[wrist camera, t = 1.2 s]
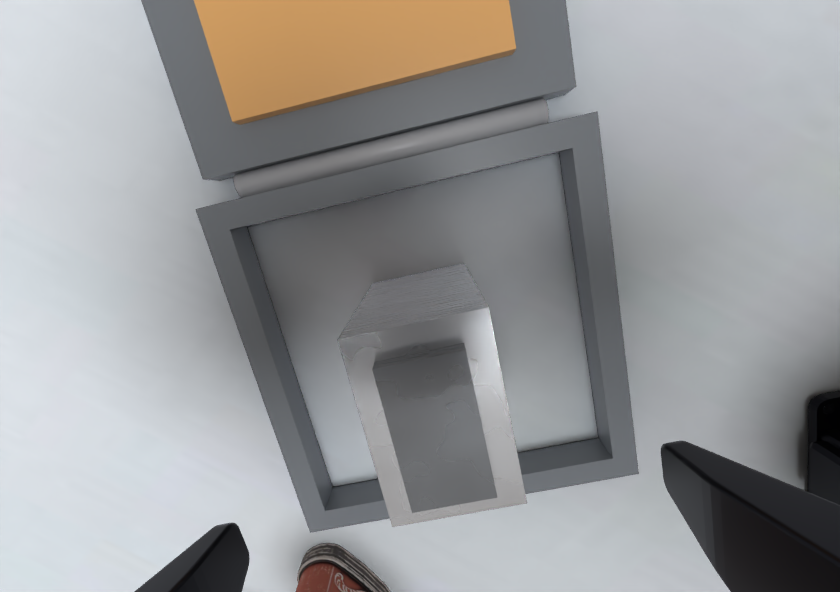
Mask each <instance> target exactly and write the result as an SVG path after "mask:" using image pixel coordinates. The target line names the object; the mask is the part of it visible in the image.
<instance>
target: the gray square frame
mask: <svg viewBox="0 0 840 592" xmlns="http://www.w3.org/2000/svg"><path fill="white" fill-rule="evenodd" d="M558 152H559V155H560V162H561V169H562V176H563V184H564V191H565V198H566V205H567V213H568V220H569V227H570V234H571V242H572V249H573V256H574V263H575V270H576V278H577V285H578V292H579V299H580V307H581V314H582V321H583V328H584V336H585V343H586V350H587V357H588V365H589V372H590V379H591V386H592V394H593V401H594V408H595V415H596V422H597V430H598V437H599V438H596V439H591V440H586V441H580V442H575V443H569V444H564V445H559V446H553V447H548V448H543V449H537V450H532V451H527V452H521V453H517V454H518V459H519V464H520V470H521V475H522V480H523V485H524V490H525V494H528V493H534V492H539V491H545V490H551V489H556V488H562V487H567V486H573V485H579V484H584V483H590V482H595V481H601V480H607V479H612V478H618V477H623V476H629V475H634V474H639V472H638V463H637V454H636V445H635V437H634V428H633V419H632V410H631V401H630V393H629V384H628V375H627V366H626V358H625V349H624V340H623V331H622V322H621V314H620V305H619V296H618V287H617V279H616V270H615V261H614V252H613V243H612V235H611V226H610V217H609V208H608V200H607V191H606V182H605V173H604V164H603V156H602V147H601V138H600V129H599V121H598V112H593V113H589V114H584V115H580V116H576V117H572V118H568V119H564V120H560V121H556V122H552V123H548V124H543V125H539V126H535V127H531V128H527V129H523V130H519V131H515V132H511V133H506V134H502V135H498V136H494V137H490V138H486V139H482V140H478V141H474V142H470V143H465V144H461V145H457V146H453V147H449V148H445V149H441V150H437V151H433V152H428V153H424V154H420V155H416V156H412V157H408V158H404V159H400V160H396V161H391V162H387V163H383V164H379V165H375V166H371V167H367V168H363V169H359V170H355V171H350V172H346V173H342V174H338V175H334V176H330V177H326V178H322V179H318V180H313V181H309V182H305V183H301V184H297V185H293V186H289V187H285V188H281V189H277V190H272V191H268V192H264V193H260V194H256V195H252V196H248V197H244V198H240V199H235V200H231V201H227V202H223V203H219V204H215V205H211V206H207V207H203V208H199V209H196V212H197V215H198V218H199V221H200V223H201V226H202V229H203V232H204V235H205V237H206V240H207V243H208V246H209V249H210V252H211V254H212V257H213V260H214V263H215V266H216V268H217V271H218V274H219V277H220V280H221V283H222V285H223V288H224V291H225V294H226V297H227V299H228V302H229V305H230V308H231V311H232V314H233V316H234V319H235V322H236V325H237V328H238V330H239V333H240V336H241V339H242V342H243V345H244V347H245V350H246V353H247V356H248V359H249V361H250V364H251V367H252V370H253V373H254V376H255V378H256V381H257V384H258V387H259V390H260V392H261V395H262V398H263V401H264V404H265V407H266V409H267V412H268V415H269V418H270V421H271V423H272V426H273V429H274V432H275V435H276V438H277V440H278V443H279V446H280V449H281V452H282V454H283V457H284V460H285V463H286V466H287V469H288V471H289V474H290V477H291V480H292V483H293V485H294V488H295V491H296V494H297V497H298V500H299V502H300V505H301V508H302V511H303V514H304V516H305V519H306V522H307V525H308V528H309V531H310V533H311V532H316V531H322V530H327V529H333V528H338V527H344V526H350V525H355V524H361V523H366V522H372V521H378V520H383V519H389V518H390V517H389V514H388V510H387V507H386V504H385V500H384V497H383V493H382V490H381V487H380V483H379V480H378V479H376V480H371V481H366V482H360V483H355V484H350V485H344V486H339V487H334V488H332V485H331V482H330V479H329V476H328V473H327V470H326V467H325V463H324V460H323V457H322V454H321V451H320V448H319V445H318V442H317V439H316V436H315V433H314V430H313V427H312V424H311V421H310V418H309V415H308V412H307V409H306V406H305V403H304V400H303V396H302V393H301V390H300V387H299V384H298V381H297V378H296V375H295V372H294V369H293V366H292V363H291V360H290V357H289V354H288V351H287V348H286V345H285V342H284V339H283V336H282V332H281V329H280V326H279V323H278V320H277V317H276V314H275V311H274V308H273V305H272V302H271V299H270V296H269V293H268V290H267V287H266V284H265V281H264V278H263V275H262V272H261V269H260V265H259V262H258V259H257V256H256V253H255V250H254V247H253V244H252V241H251V238H250V235H249V232H248V229H247V226H251V225H255V224H260V223H264V222H268V221H272V220H276V219H281V218H285V217H289V216H293V215H297V214H302V213H306V212H310V211H314V210H318V209H323V208H327V207H331V206H335V205H339V204H344V203H348V202H352V201H356V200H360V199H365V198H369V197H373V196H377V195H381V194H386V193H390V192H394V191H398V190H402V189H407V188H411V187H415V186H419V185H423V184H428V183H432V182H436V181H440V180H444V179H449V178H453V177H457V176H461V175H465V174H470V173H474V172H478V171H482V170H486V169H491V168H495V167H499V166H503V165H507V164H512V163H516V162H520V161H524V160H528V159H533V158H537V157H541V156H545V155H549V154H554V153H558Z"/></svg>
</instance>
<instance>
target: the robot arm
mask: <svg viewBox="0 0 840 592" xmlns="http://www.w3.org/2000/svg"><path fill="white" fill-rule="evenodd" d="M661 458H662V468H663V478H664V483H665V486H666V488H667V490H668V492H669V494H670V496H671V497H672V499H673V501H674V502H675V504H676V506H677V507H678V509H679V511H680V512H681V514H682V516H683V517H684V519H685V521H686V522H687V524H688V526H689V527H690V529H691V531H692V532H693V534H694V536H695V537H696V539H697V541H698V542H699V544H700V546H701V547H702V549H703V551H704V552H705V554H706V556H707V557H708V559H709V560H710V562H711V564H712V565H713V567H714V568H715V570H716V571H717V573H718V574H719V576H720V577H721V579H722V580H723V581H724V583H725V584H726V586H727V587H728V588H729V590H730V591H731V592H840V391H837V392H832V393H827V394H821V395H818V396H815V397H814V398H813V399H812V400H811V401H810V403H809V407H808V492H806V491H804V490H802V489H799V488H797V487H794V486H792V485H790V484H787V483H785V482H782V481H780V480H778V479H775V478H773V477H770V476H768V475H766V474H763V473H761V472H758V471H756V470H753V469H751V468H749V467H746V466H744V465H741V464H739V463H737V462H734V461H732V460H729V459H727V458H725V457H722V456H720V455H717V454H715V453H713V452H710V451H708V450H705V449H703V448H700V447H698V446H696V445H693V444H691V443H688V442H686V441H676V442H671V443H665V444H663V445H662V447H661ZM248 566H249V552H248V549H247V546H246V544H245V541H244V539H243V536H242V534H241V532H240V529H239V527H238V525H237V524H235V523H227V524H222V525H217V526H215V527H213V528H212V529H211V530H210V531H208V532H207V533H206V534H205V535H203V536H202V537H201V538H200V539H199V540H197V541H196V542H195V543H194V544H192V545H191V546H190V547H189V548H188V549H186V550H185V551H184V552H183V553H181V554H180V555H179V556H178V557H176V558H175V559H174V560H173V561H172V562H170V563H169V564H168V565H167V566H165V567H164V568H163V569H162V570H161V571H159V572H158V573H157V574H156V575H154V576H153V577H152V578H151V579H149V580H148V581H147V582H146V583H145V584H143V585H142V586H141V587H140V588H138V589H137V590H136V591H135V592H242V589H243V585H244V581H245V577H246V574H247V570H248Z"/></svg>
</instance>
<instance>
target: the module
mask: <svg viewBox="0 0 840 592" xmlns="http://www.w3.org/2000/svg"><path fill="white" fill-rule="evenodd" d="M337 340H338V344H339V347H340V350H341V354H342V357H343V361H344V364H345V367H346V371H347V374H348V378H349V381H350V384H351V388H352V391H353V395H354V398H355V401H356V405H357V408H358V412H359V415H360V418H361V422H362V425H363V429H364V432H365V435H366V439H367V442H368V446H369V449H370V453H371V456H372V459H373V463H374V466H375V470H376V473H377V476H378V480H379V483H380V487H381V490H382V493H383V497H384V500H385V504H386V507H387V510H388V514H389V517H390V521H391V524H392V527H396V526H401V525H407V524H412V523H418V522H424V521H429V520H435V519H441V518H446V517H452V516H457V515H463V514H469V513H474V512H480V511H486V510H491V509H497V508H502V507H508V506H514V505H519V504H525V503H527V500H526V495H525V490H524V485H523V480H522V475H521V470H520V464H519V459H518V454H517V449H516V444H515V439H514V434H513V429H512V423H511V418H510V413H509V408H508V403H507V398H506V393H505V388H504V382H503V377H502V372H501V367H500V362H499V357H498V352H497V347H496V341H495V336H494V331H493V326H492V321H491V316H490V311H489V307H488V305H487V303H486V301H485V300H484V298H483V296H482V294H481V292H480V291H479V289H478V287H477V285H476V283H475V282H474V280H473V278H472V276H471V274H470V273H469V271H468V269H467V267H466V265H465V264H464V263H462V264H457V265H453V266H449V267H444V268H440V269H435V270H431V271H426V272H422V273H417V274H413V275H408V276H404V277H399V278H395V279H390V280H386V281H381V282H377V283H373V284H372V285H371V287H370V288H369V290H368V292H367V293H366V295H365V296H364V298H363V299H362V301H361V303H360V304H359V306H358V307H357V309H356V311H355V312H354V314H353V315H352V317H351V319H350V320H349V322H348V323H347V325H346V327H345V328H344V330H343V331H342V333H341V335H340V336H339V338H338V339H337Z"/></svg>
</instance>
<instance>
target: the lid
mask: <svg viewBox="0 0 840 592" xmlns="http://www.w3.org/2000/svg"><path fill="white" fill-rule="evenodd" d="M141 1H142V4H143V7H144V10H145V13H146V15H147V18H148V21H149V24H150V27H151V30H152V33H153V36H154V39H155V42H156V44H157V47H158V50H159V53H160V56H161V59H162V62H163V65H164V68H165V71H166V73H167V76H168V79H169V82H170V85H171V88H172V91H173V94H174V97H175V100H176V103H177V105H178V108H179V111H180V114H181V117H182V120H183V123H184V126H185V129H186V132H187V134H188V137H189V140H190V143H191V146H192V149H193V152H194V155H195V158H196V161H197V163H198V166H199V169H200V172H201V175H202V178H203V179H204V180H218V181H219V180H223V179H228V178H232V177H234V185H235V188H236V191H237V193H238V194H239V196H240V197H241V198H244V197H248V196H252V195H256V194H260V193H264V192H268V191H272V190H277V189H281V188H285V187H289V186H293V185H297V184H301V183H305V182H309V181H313V180H318V179H322V178H326V177H330V176H334V175H338V174H342V173H346V172H350V171H355V170H359V169H363V168H367V167H371V166H375V165H379V164H383V163H387V162H391V161H396V160H400V159H404V158H408V157H412V156H416V155H420V154H424V153H428V152H433V151H437V150H441V149H445V148H449V147H453V146H457V145H461V144H465V143H470V142H474V141H478V140H482V139H486V138H490V137H494V136H498V135H502V134H506V133H511V132H515V131H519V130H523V129H527V128H531V127H535V126H539V125H543V124H548V121H549V112H548V106H547V102H546V99H550V98H554V97H558V96H562V95H565V94H567V93H568V92H569V91H571V90H572V89H574V88H575V87H576V81H575V73H574V65H573V57H572V49H571V41H570V33H569V25H568V16H567V8H566V0H141Z"/></svg>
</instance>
